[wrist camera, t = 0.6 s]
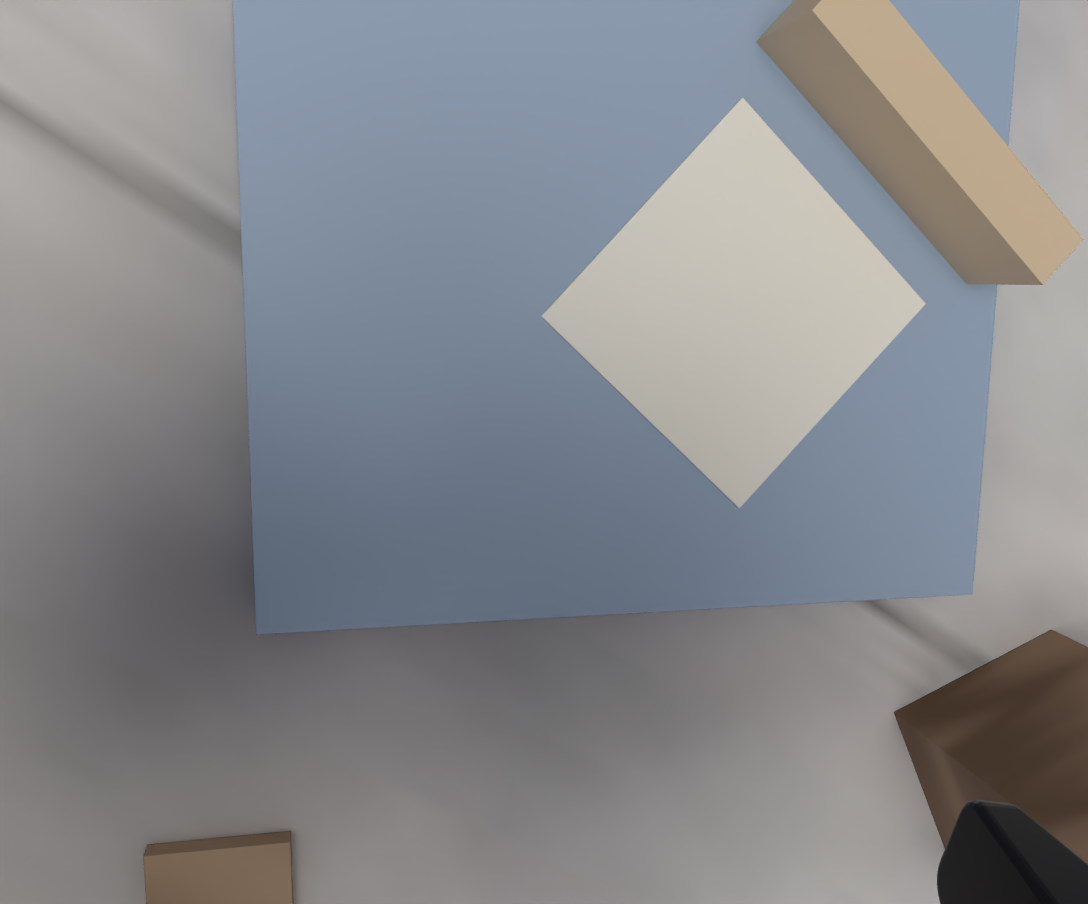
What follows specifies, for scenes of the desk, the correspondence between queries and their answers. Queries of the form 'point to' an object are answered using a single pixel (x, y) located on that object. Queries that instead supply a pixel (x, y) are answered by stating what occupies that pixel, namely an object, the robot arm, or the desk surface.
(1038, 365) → the desk surface
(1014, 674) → the block
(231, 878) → the wing slat
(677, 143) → the board
